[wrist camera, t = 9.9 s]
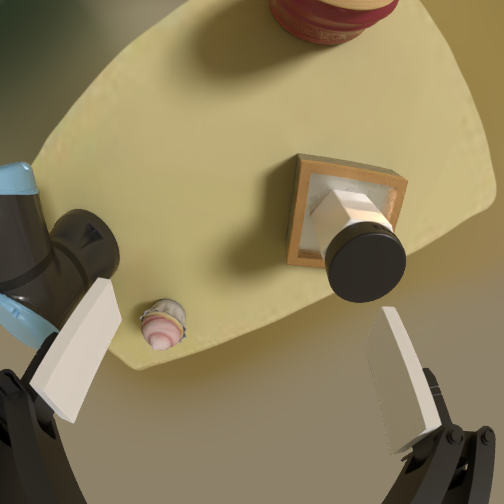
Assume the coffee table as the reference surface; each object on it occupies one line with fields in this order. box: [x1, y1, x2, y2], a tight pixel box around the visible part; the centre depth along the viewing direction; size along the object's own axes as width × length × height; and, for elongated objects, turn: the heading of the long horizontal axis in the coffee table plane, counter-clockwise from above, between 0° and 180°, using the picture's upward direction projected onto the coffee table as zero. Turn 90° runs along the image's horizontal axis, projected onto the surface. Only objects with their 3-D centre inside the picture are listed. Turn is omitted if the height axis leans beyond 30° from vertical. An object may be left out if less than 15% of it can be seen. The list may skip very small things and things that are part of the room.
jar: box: [310, 189, 406, 303], centre depth 29 cm, size 9×8×12 cm
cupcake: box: [140, 299, 187, 351], centre depth 47 cm, size 9×9×10 cm
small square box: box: [286, 153, 408, 268], centre depth 36 cm, size 14×15×6 cm
